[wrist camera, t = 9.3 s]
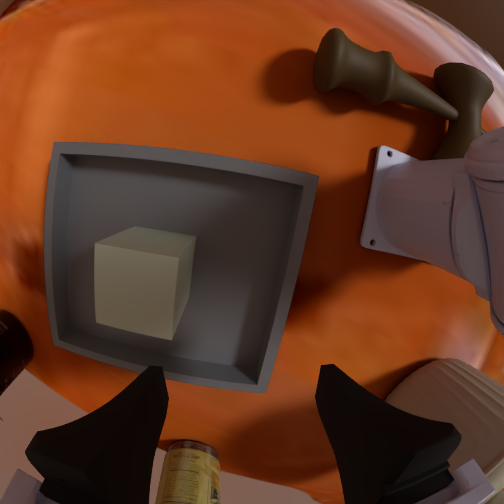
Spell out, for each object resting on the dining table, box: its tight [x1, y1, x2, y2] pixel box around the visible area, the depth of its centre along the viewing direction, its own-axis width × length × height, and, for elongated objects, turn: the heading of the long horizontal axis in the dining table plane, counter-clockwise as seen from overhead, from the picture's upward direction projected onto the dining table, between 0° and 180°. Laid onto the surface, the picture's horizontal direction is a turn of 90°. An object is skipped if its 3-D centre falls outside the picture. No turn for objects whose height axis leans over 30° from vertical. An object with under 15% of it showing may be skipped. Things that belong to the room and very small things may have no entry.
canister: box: [384, 358, 504, 504], centre depth 15 cm, size 18×18×21 cm
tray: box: [44, 142, 319, 393], centre depth 18 cm, size 18×16×3 cm
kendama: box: [313, 28, 494, 160], centre depth 15 cm, size 6×10×20 cm
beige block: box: [94, 226, 197, 340], centre depth 16 cm, size 4×4×6 cm
